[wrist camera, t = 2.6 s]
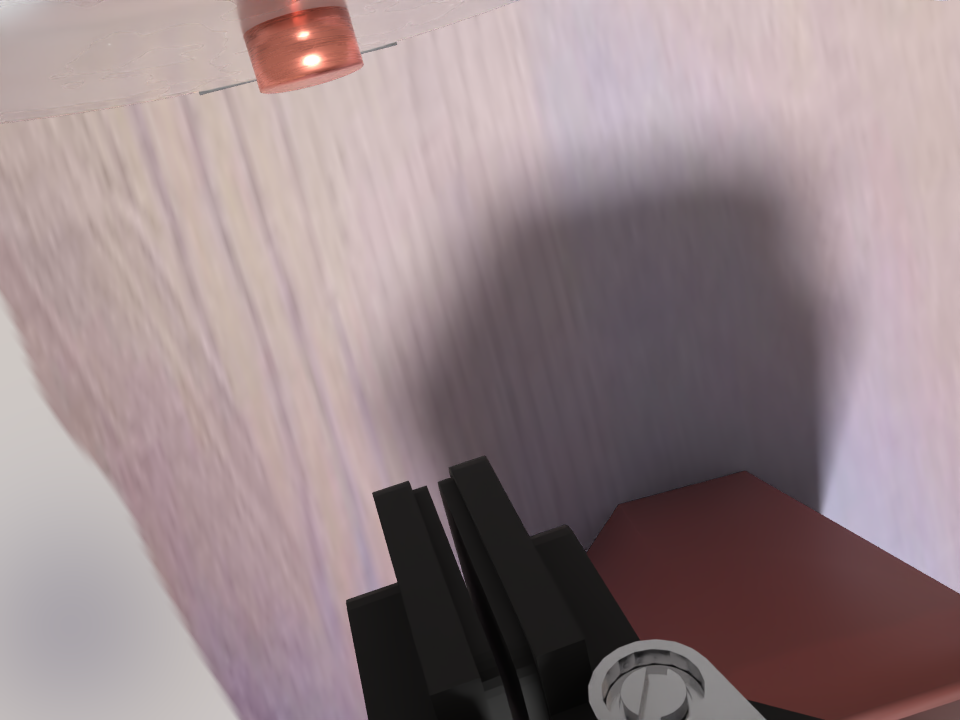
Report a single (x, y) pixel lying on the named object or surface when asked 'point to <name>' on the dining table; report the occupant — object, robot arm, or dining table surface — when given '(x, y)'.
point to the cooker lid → (192, 46)
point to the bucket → (784, 602)
